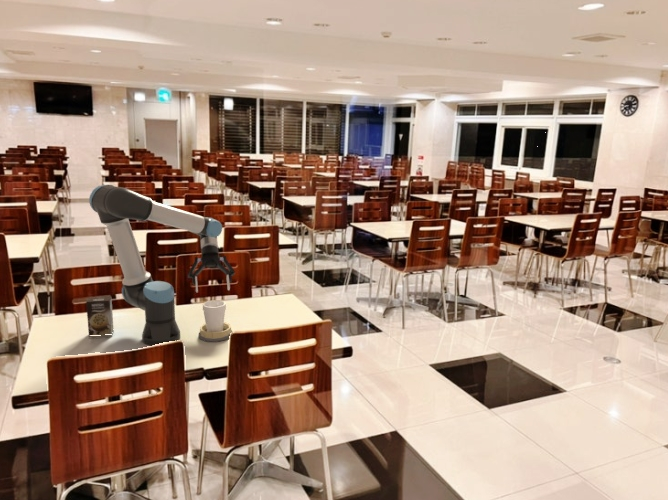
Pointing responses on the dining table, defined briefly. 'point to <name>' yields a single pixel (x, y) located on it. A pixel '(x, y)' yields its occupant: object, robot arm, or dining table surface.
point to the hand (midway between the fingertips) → (213, 290)
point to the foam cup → (214, 315)
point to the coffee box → (100, 316)
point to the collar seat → (215, 334)
